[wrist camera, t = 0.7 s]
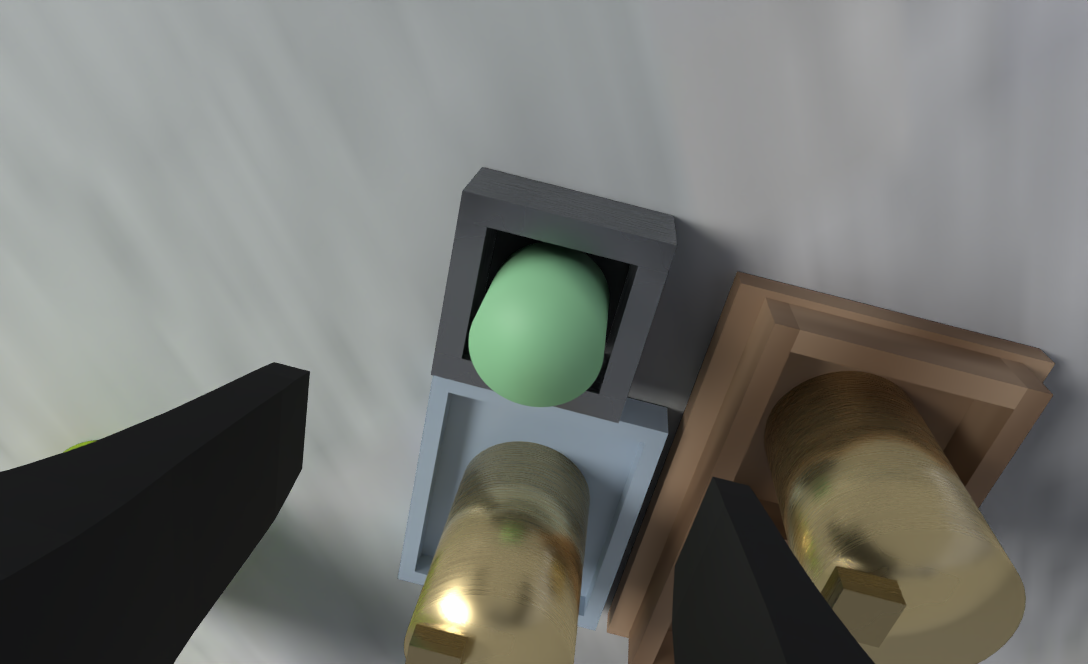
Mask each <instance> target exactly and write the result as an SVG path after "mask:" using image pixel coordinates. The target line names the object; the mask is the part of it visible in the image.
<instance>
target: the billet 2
mask: <svg viewBox="0 0 1088 664" xmlns="http://www.w3.org/2000/svg"><path fill="white" fill-rule="evenodd" d="M764 446H765V451H766V455H767V459H768V463H769V467H770V471H771V475H772V479H773V484H774V488H775V492H776V496H777V500H778V504H779V508H780V512H781V516H782V520H783V524H784V528H785V532H786V536H787V540H788V544H789V548H790V549H791V551H792V552H793V554H794V555H795V557H796V558H797V560H798V561H799V563H800V564H801V566H802V567H803V568H804V570H805V571H806V573H807V574H808V576H809V577H810V579H811V580H812V582H813V583H814V584H815V586H816V587H817V589H818V590H819V592H820V593H821V594H822V596H823V597H824V598H825V600H826V601H827V603H828V604H829V605H830V607H831V608H832V609H833V611H834V612H835V613H836V615H837V616H838V617H839V619H840V620H841V621H842V623H843V624H844V625H845V626H846V628H847V629H848V630H849V632H850V633H851V634H852V636H853V637H854V638H855V639H856V641H857V642H858V643H859V645H860V646H861V647H862V648H863V650H864V651H865V652H866V653H867V654H868V656H869V657H870V658H871V659H872V660H873V662H874V663H875V664H977V663H979V662H981V661H983V660H985V659H986V658H988V657H989V656H991V655H992V654H994V653H995V652H997V651H998V650H999V649H1000V648H1001V647H1002V646H1003V645H1005V644H1006V642H1007V641H1008V640H1009V639H1010V638H1011V637H1012V636H1013V634H1014V633H1015V631H1016V630H1017V628H1018V626H1019V624H1020V622H1021V620H1022V618H1023V614H1024V610H1025V600H1026V597H1025V590H1024V586H1023V583H1022V580H1021V578H1020V576H1019V574H1018V573H1017V571H1016V569H1015V568H1014V566H1013V564H1012V563H1011V561H1010V560H1009V558H1008V556H1007V555H1006V553H1005V551H1004V550H1003V548H1002V546H1001V545H1000V543H999V542H998V540H997V538H996V537H995V535H994V533H993V532H992V530H991V529H990V527H989V525H988V524H987V522H986V520H985V519H984V517H983V516H982V514H981V512H980V511H979V509H978V507H977V506H976V504H975V503H974V501H973V499H972V498H971V496H970V494H969V493H968V491H967V490H966V488H965V486H964V485H963V483H962V481H961V480H960V478H959V477H958V475H957V473H956V472H955V470H954V468H953V467H952V465H951V464H950V462H949V460H948V459H947V457H946V455H945V454H944V452H943V451H942V449H941V447H940V446H939V444H938V442H937V441H936V439H935V438H934V436H933V434H932V433H931V431H930V429H929V428H928V426H927V425H926V423H925V421H924V420H923V418H922V416H921V415H920V413H919V412H918V410H917V408H916V407H915V405H914V403H913V402H912V400H911V399H910V397H909V396H908V395H907V394H906V393H905V392H904V391H903V390H902V389H901V388H900V387H899V386H897V385H896V384H894V383H893V382H891V381H889V380H887V379H885V378H883V377H880V376H877V375H874V374H870V373H865V372H858V371H839V372H832V373H827V374H823V375H819V376H816V377H814V378H811V379H808V380H806V381H804V382H802V383H800V384H799V385H797V386H796V387H794V388H792V389H791V390H790V391H789V392H787V393H786V394H785V395H784V396H783V397H782V398H781V399H780V400H779V401H778V402H777V404H776V405H775V406H774V408H773V409H772V411H771V413H770V415H769V417H768V419H767V422H766V425H765V430H764Z"/></svg>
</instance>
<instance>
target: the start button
mask: <svg viewBox="0 0 1088 664" xmlns="http://www.w3.org/2000/svg"><path fill="white" fill-rule="evenodd" d="M609 301H610V296H609V288H608V284H607V281H606V279H605V276H604V274H603V273H602V271H601V269H600V268H599V267H598V265H597V264H596V263H595V262H594V261H593V260H592V259H591V258H590V257H589V256H588V255H586V254H585V253H583V252H582V251H579V250H575V249H571V248H567V247H563V246H559V245H555V244H551V243H547V242H539V243H534V244H530V245H527V246H524V247H522V248H520V249H518V250H517V251H515V252H514V253H512V254H511V255H510V256H509V257H508V258H507V259H506V260H505V261H504V262H503V263H502V265H501V266H500V268H499V269H498V271H497V273H496V275H495V277H494V279H493V281H492V283H491V285H490V288H489V290H488V292H487V294H486V296H485V298H484V300H483V302H482V304H481V306H480V308H479V310H478V312H477V314H476V316H475V318H474V320H473V322H472V325H471V328H470V332H469V352H470V357H471V360H472V363H473V365H474V367H475V369H476V371H477V373H478V374H479V376H480V377H481V379H482V380H483V381H484V382H485V383H486V384H487V385H488V386H489V387H490V388H491V389H492V390H493V391H495V392H496V393H497V394H499V395H500V396H502V397H504V398H505V399H508V400H510V401H512V402H515V403H518V404H521V405H525V406H531V407H551V406H557V405H560V404H564V403H567V402H569V401H571V400H573V399H575V398H577V397H579V396H580V395H581V394H583V393H584V392H585V391H586V390H587V389H588V388H589V387H590V386H591V385H592V384H593V382H594V381H595V380H596V378H597V376H598V374H599V372H600V369H601V367H602V363H603V358H604V349H605V340H606V330H607V321H608V312H609Z"/></svg>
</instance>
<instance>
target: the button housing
mask: <svg viewBox="0 0 1088 664" xmlns="http://www.w3.org/2000/svg"><path fill="white" fill-rule="evenodd" d="M498 230H501V231H504V232H508V233H512V234H516V235H520V236H524V237H528V238H532V239H536V240H540V241H543V242H547V243H551V244H555V245H559V246H563V247H567V248H571V249H575V250H579V251H583V252H586V253H590V254H594V255H598V256H602V257H606V258H610V259H614V260H618V261H622V262H625V263H629V264H630V267H629V270H628V274H627V277H626V280H625V284H624V287H623V290H622V294H621V297H620V300H619V304H618V307H617V310H616V314H615V317H614V320H613V324H612V327H611V330H610V334H609V337H608V340H607V344H606V347H605V350H604V358H603V363H602V367H601V369H600V372H599V374H598V376H597V378H596V380H595V381H594V382H593V384H592V385H591V386H590V387H589V388H588V389H587V390H586V391H585V392H584V393H583V394H581V395H580V396H579V397H577V398H575V399H573V400H571V401H569V402H567V403H564V404H560V405H557V406H553V407H557V408H561V409H565V410H569V411H573V412H577V413H581V414H584V415H588V416H592V417H596V418H600V419H604V420H608V421H611V422H615V423H619V421H620V418H621V415H622V411H623V408H624V405H625V402H626V399H627V396H628V393H629V390H630V387H631V384H632V381H633V378H634V375H635V372H636V369H637V366H638V363H639V360H640V357H641V354H642V351H643V348H644V345H645V342H646V339H647V336H648V332H649V329H650V326H651V323H652V320H653V317H654V314H655V311H656V308H657V305H658V302H659V299H660V296H661V293H662V290H663V287H664V284H665V281H666V278H667V275H668V272H669V269H670V266H671V263H672V260H673V257H674V253H675V250H676V247H677V240H676V231H675V222H674V216H672V215H668V214H664V213H660V212H656V211H652V210H648V209H644V208H640V207H636V206H633V205H629V204H625V203H621V202H617V201H613V200H609V199H605V198H601V197H597V196H593V195H589V194H585V193H582V192H578V191H574V190H570V189H566V188H562V187H558V186H554V185H550V184H546V183H542V182H538V181H535V180H531V179H527V178H523V177H519V176H515V175H511V174H507V173H503V172H499V171H495V170H491V169H488V168H484V167H482V168H481V169H480V170H479V172H478V173H477V174H476V175H475V176H474V178H473V179H472V180H471V181H470V182H469V184H468V185H467V186H466V187H465V188H464V190H463V191H462V197H461V203H460V209H459V214H458V220H457V226H456V232H455V238H454V243H453V249H452V255H451V261H450V267H449V272H448V278H447V284H446V290H445V296H444V301H443V307H442V313H441V319H440V325H439V330H438V336H437V342H436V348H435V354H434V359H433V365H432V371H431V375H434V376H438V377H441V378H445V379H449V380H453V381H457V382H461V383H465V384H468V385H472V386H476V387H480V388H484V389H488V390H492V389H491V388H490V387H489V386H488V385H487V384H486V383H485V382H484V381H483V380H482V379H481V377H480V376H479V374H478V373H477V371H476V369H475V367H474V365H473V363H472V360H471V357H470V352H469V332H470V328H471V325H472V322H473V320H474V318H475V316H476V314H477V312H478V310H479V308H480V306H481V304H482V302H483V300H484V295H485V290H486V285H487V280H488V275H489V271H490V266H491V261H492V256H493V251H494V246H495V241H496V236H497V231H498ZM492 391H493V390H492Z"/></svg>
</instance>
